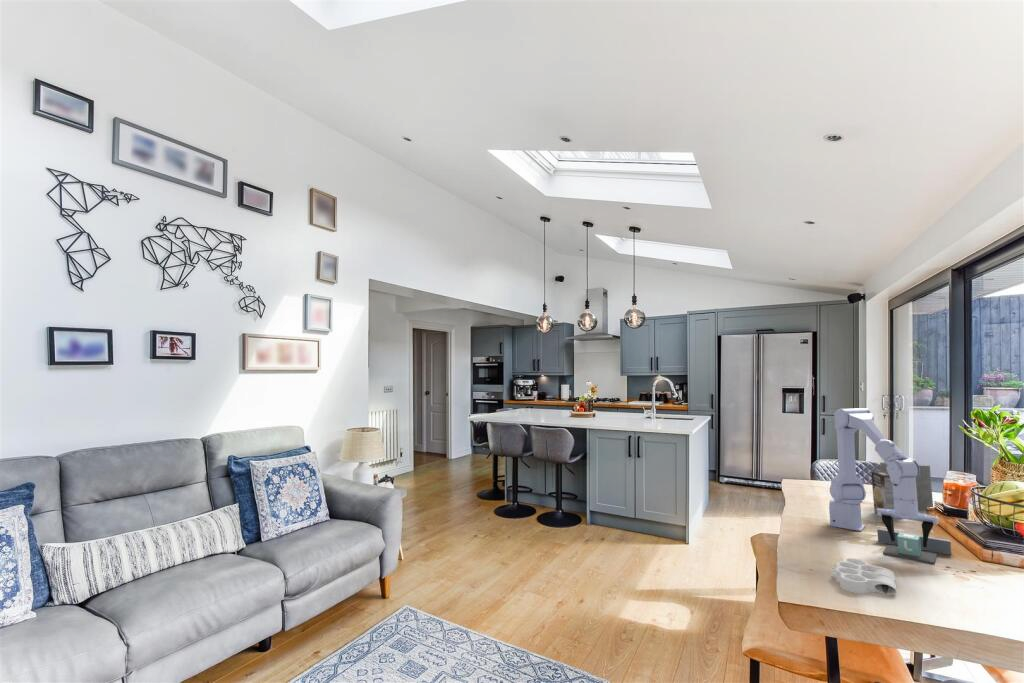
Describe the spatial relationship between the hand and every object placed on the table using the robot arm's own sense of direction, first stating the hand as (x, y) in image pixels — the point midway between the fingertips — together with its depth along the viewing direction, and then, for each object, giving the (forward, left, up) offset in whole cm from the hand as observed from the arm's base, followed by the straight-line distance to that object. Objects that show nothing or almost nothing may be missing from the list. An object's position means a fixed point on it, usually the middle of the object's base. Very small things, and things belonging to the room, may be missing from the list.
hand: (908, 543), depth 149 cm
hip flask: (-7, +62, -4) cm, 62 cm away
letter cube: (0, 0, -3) cm, 3 cm away
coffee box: (-11, +44, -4) cm, 46 cm away
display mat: (0, 0, -3) cm, 3 cm away
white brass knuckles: (-7, -31, -4) cm, 32 cm away
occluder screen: (0, +8, -3) cm, 9 cm away
